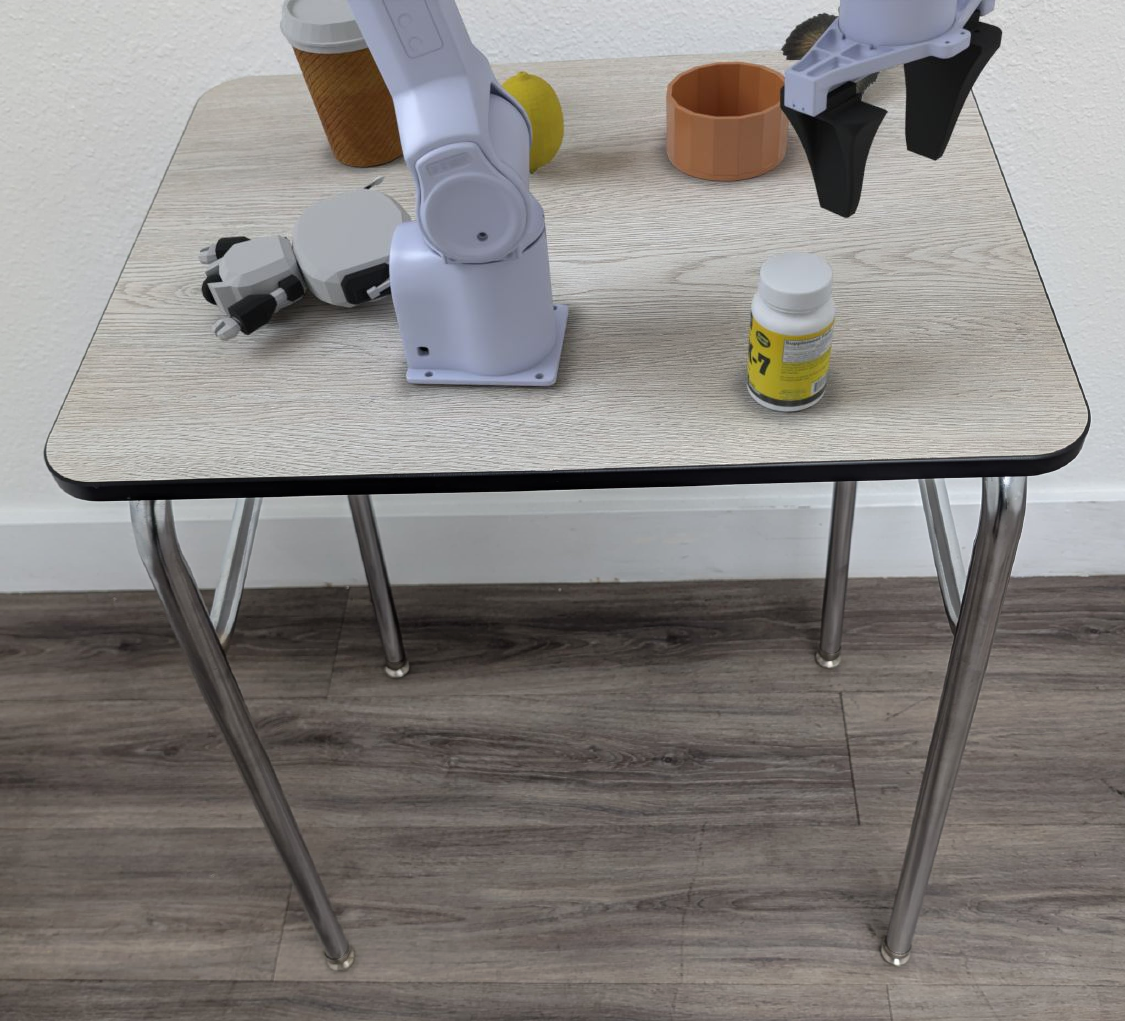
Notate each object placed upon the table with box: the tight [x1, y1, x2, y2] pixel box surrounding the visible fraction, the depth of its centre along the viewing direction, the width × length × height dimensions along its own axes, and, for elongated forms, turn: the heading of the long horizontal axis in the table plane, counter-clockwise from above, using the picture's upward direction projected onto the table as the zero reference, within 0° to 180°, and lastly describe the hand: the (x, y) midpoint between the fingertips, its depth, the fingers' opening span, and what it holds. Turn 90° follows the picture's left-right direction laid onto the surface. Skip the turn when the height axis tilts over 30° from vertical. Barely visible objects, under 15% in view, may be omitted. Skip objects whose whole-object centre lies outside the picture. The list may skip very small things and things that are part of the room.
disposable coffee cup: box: [279, 0, 403, 168], centre depth 87 cm, size 10×10×12 cm
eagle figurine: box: [780, 5, 880, 96], centre depth 90 cm, size 8×7×9 cm
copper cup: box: [665, 61, 790, 182], centre depth 85 cm, size 9×9×5 cm
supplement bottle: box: [746, 251, 837, 412], centre depth 64 cm, size 5×5×8 cm
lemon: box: [500, 70, 565, 174], centre depth 84 cm, size 6×6×8 cm
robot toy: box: [197, 175, 412, 342], centre depth 76 cm, size 12×4×15 cm
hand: (881, 181), depth 63 cm, fingers open, 7 cm apart
